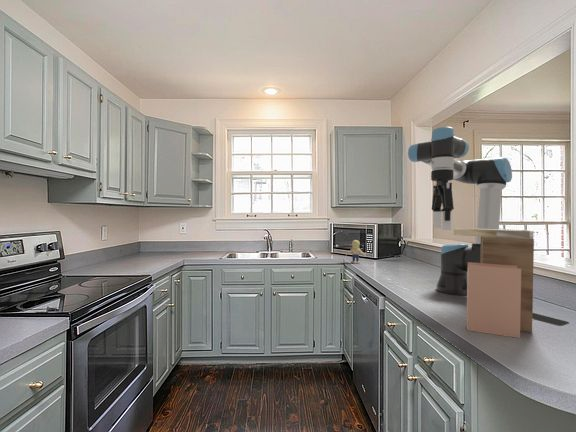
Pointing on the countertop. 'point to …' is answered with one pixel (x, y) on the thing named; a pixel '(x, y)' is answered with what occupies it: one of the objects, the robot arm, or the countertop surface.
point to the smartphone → (548, 319)
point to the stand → (515, 252)
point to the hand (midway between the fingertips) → (441, 229)
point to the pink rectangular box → (494, 299)
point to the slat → (476, 232)
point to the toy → (355, 251)
